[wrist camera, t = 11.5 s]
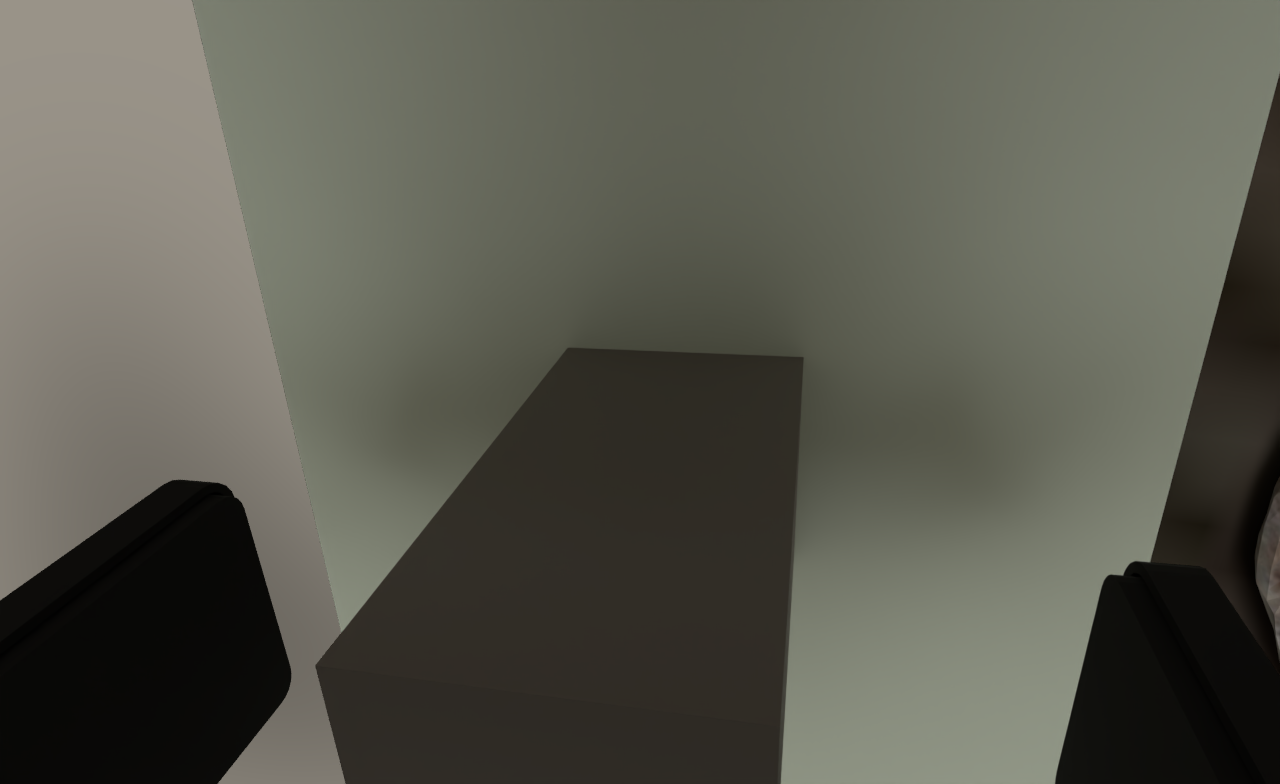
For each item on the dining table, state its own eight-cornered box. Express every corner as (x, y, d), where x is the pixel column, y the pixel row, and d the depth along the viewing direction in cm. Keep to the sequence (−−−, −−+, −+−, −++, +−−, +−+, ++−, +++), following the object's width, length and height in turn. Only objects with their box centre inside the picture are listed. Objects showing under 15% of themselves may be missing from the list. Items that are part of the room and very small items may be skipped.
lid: (1272, -65, 10) (2564, -317, 2) (1064, 782, 15) (1273, 1444, 8) (235, -6, 12) (-559, -46, 5) (386, 690, 18) (100, 1123, 11)
